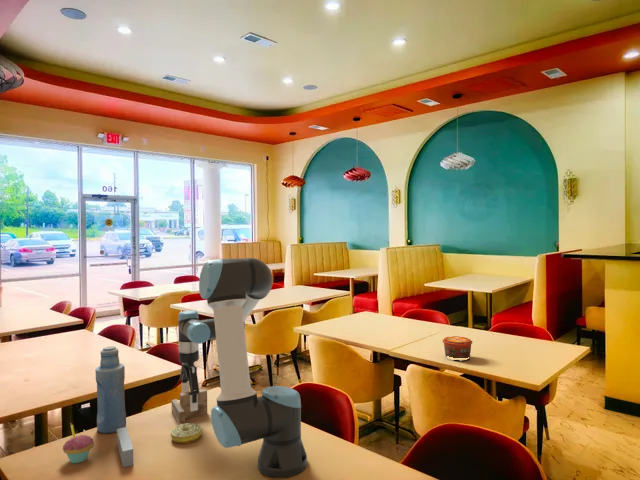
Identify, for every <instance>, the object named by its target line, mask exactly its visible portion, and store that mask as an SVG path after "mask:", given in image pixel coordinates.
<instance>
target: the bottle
mask: <svg viewBox="0 0 640 480" xmlns="http://www.w3.org/2000/svg"><path fill="white" fill-rule="evenodd" d="M119 352H120V351H119V348H117V347H116V346H114V345H113V346H105V347H103V348H102V350H100V363H99V366H97V367H96V368H95V382H96V398H97V399H96V400H97V403H96V404H97V414H96V431H97V432H98V433H100V434H112V433H117V429H119V428H124V427H127V413H126V403H125V402H126V401H125V400H126V399H125V398H126V397H125V379H126V378H125V377H126V375H125V374H126V373H125V371H126V370H125V365H124V363H121V362H120V358H119V357H120V356H119Z"/></svg>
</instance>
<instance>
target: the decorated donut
mask: <svg viewBox="0 0 640 480" xmlns="http://www.w3.org/2000/svg"><path fill="white" fill-rule="evenodd" d="M202 432H203V427H202V426H201V425H200V424H196V423H191V422H190V423H188V422H187V423H186V422H185V424H181V425H179V424H178V425H176V426H175V427H174V428H173V429H172V430H170V437H171V439H172V442H173V443H178V444H181V445H182V444H183V445H185V444H190V443H194V442H195V441H198V439H199V438H200V437H201V435H202Z"/></svg>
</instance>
